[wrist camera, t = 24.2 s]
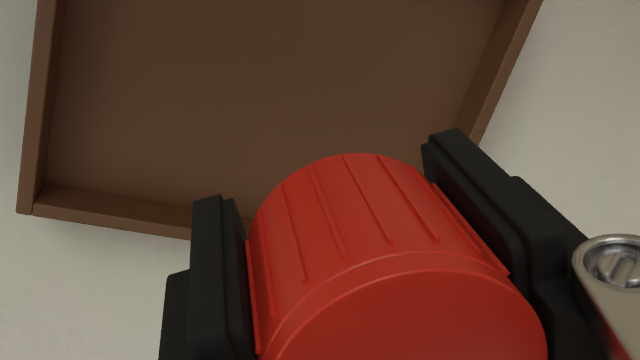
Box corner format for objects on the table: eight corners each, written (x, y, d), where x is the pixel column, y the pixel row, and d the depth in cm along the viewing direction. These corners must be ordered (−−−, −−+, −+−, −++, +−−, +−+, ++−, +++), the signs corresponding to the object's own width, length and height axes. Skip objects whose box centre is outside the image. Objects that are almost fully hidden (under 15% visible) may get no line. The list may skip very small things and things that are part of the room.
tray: (31, 185, 20) (14, 213, 19) (74, -190, 16) (58, -200, 14) (404, 250, 25) (419, 277, 23) (523, -30, 20) (554, -23, 18)
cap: (276, 353, 12) (303, 531, 8) (214, 186, 10) (215, 327, 6) (461, 295, 12) (559, 446, 8) (432, 121, 10) (543, 225, 7)
